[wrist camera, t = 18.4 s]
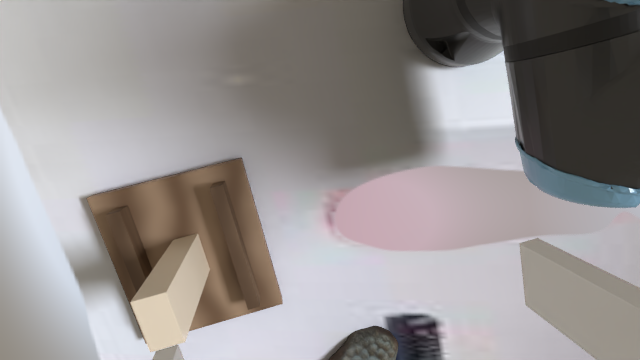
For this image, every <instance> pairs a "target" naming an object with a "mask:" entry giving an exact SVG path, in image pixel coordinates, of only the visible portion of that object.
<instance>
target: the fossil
mask: <svg viewBox="0 0 640 360" xmlns="http://www.w3.org/2000/svg"><path fill="white" fill-rule="evenodd" d="M397 351H398V342H397V340H396V338H395V337H394V336H393V335H392V333H391V332H390V331H388V330H386V329H384V328H382V327H379V326H372V327H368V328H365V329H361V330H357V331H355V332H353V333H352V334H351V335H350V336H349V337H348V339H347V341H346V342H345V343H344V344H343V346H341V347H340V348H339V349H338V351H337V352H336V353H335V354H334V355H332V357H331V358H330V359H329V360H396V355H397Z"/></svg>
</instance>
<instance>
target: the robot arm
mask: <svg viewBox="0 0 640 360" xmlns="http://www.w3.org/2000/svg"><path fill="white" fill-rule="evenodd" d="M403 11H404V17H405V22H406V26H407V29H408V31H409V34H410V36H411V38H412V39H413V41H414V43H415V44H416V45H417V47H418V48H419V49H420V50H421V51H422V52H423V53H424V54H425V55H426V56H428V57H429V58H430V59H432V60H434V61H436V62H438V63H440V64H443V65H447V66H453V67H462V66H468V65H473V64H478V63H481V62H484V61H487V60H489V59H491V58H493V57H495V56H496V55H498V54H499V53H501V52H502V51H503V50H504V55H505V64H506V70H507V76H508V82H509V89H510V96H511V103H512V110H513V117H514V124H515V131H516V138H515V143H516V146H517V148H518V150H519V151H520V155H521V160H522V164H523V169H524V173H525V175H526V177H527V178H528V179H529V181H530V182H531V183H533V184H534V185H535V186H537V187H538V188H539V189H540V190H541V191H543V192H545V193H547V194H549V195H551V196H554V197H556V198H559V199H562V200H565V201H569V202H574V203H578V204H584V205H590V206H598V207H610V208H631V207H637V206H638V205H639V204H640V0H403ZM520 253H521V263H522V273H523V283H524V293H525V303H526V306H528V307H529V308H530V309H531V310H533V311H534V312H535V313H537V314H538V315H539V316H541V317H542V318H543V319H544V320H546V321H547V322H548V323H550V324H551V325H552V326H554V327H555V328H556V329H557V330H559V331H560V332H561V333H563V334H564V335H565V336H567V337H568V338H569V339H571V340H572V341H573V342H574V343H576V344H577V345H578V346H580V347H581V348H582V349H584V350H585V351H586V352H587V353H589V354H590V355H591V356H593V357H594V358H595V359H597V360H640V288H639V287H637V286H635V285H633V284H631V283H629V282H626V281H624V280H622V279H620V278H618V277H616V276H614V275H612V274H610V273H608V272H606V271H604V270H602V269H600V268H598V267H596V266H594V265H592V264H590V263H588V262H585V261H583V260H581V259H579V258H577V257H575V256H573V255H571V254H569V253H567V252H565V251H563V250H561V249H559V248H557V247H555V246H553V245H551V244H549V243H547V242H544V241H542V240H540V239H538V238H536V239H533V240H529V241H526V242H523V243H520ZM153 360H184V358H183V356H182V353H181V350H180V348H179V345H175V346H172V347H169V348H165V349H162V350H158V351H156V353H155V355H154V357H153Z"/></svg>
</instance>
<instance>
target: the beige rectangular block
mask: <svg viewBox="0 0 640 360" xmlns="http://www.w3.org/2000/svg"><path fill="white" fill-rule="evenodd" d="M209 271H210V268H209V265H208V262H207V259H206V256H205V253H204V250H203V247H202V244H201V241H200V238H199V235H198V233H197V234H193V235H190V236H186V237H182V238H178V239H175V240H173V241H172V242H171V244H170V245H169V247H168V248H167V250H166V251H165V253H164V254H163V255H162V257H161V258H160V260H159V261H158V263H157V264H156V266H155V267H154V268H153V270H152V271H151V273H150V274H149V276H148V277H147V279H146V280H145V282H144V283H143V284H142V286H141V287H140V289H139V290H138V292H137V293H136V295H135V296H134V297H133V299H132V300H131V302H130V303H131V306H132V308H133V311H134V313H135V316H136V318H137V321H138V323H139V325H140V328H141V330H142V333H143V335H144V338H145V340H146V343H147V345H148V347H149V350H150V352H153V351H156V350H160V349H163V348H166V347H170V346H173V345H177V344H180V343H183V342H185V341H186V338H187V335H188V332H189V329H190V326H191V323H192V320H193V317H194V315H195V312H196V309H197V306H198V303H199V300H200V297H201V294H202V291H203V288H204V285H205V282H206V280H207V277H208V274H209Z"/></svg>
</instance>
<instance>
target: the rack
mask: <svg viewBox="0 0 640 360" xmlns="http://www.w3.org/2000/svg"><path fill="white" fill-rule="evenodd" d="M87 201H88V203H89V206H90V208H91V211H92V213H93V216H94V218H95V220H96V223H97V225H98V228H99V230H100V233H101V235H102V238H103V240H104V242H105V245H106V247H107V250H108V252H109V255H110V257H111V260H112V262H113V264H114V267H115V269H116V272H117V274H118V277H119V279H120V282H121V284H122V286H123V289H124V291H125V294H126V296H127V299H128V301H129V304H130V306H131V303H130V302H131V300H132V299H133V297H134V296H135V295H136V293H137V292H138V290H139V289H140V287H141V286H142V284H143V283H144V282H145V280H146V279H147V277H148V276H149V274H150V273H151V271H152V270H153V268H154V267H155V266H156V264H157V263H158V261H159V260H160V258H161V257H162V255H163V254H164V253H165V251H166V250H167V248H168V247H169V245H170V244H171V242H172V241H173V240H175V239H178V238H182V237H186V236H190V235H193V234H197V233H198V235H199V238H200V241H201V244H202V247H203V250H204V253H205V256H206V259H207V262H208V265H209V268H210V271H209V274H208V277H207V280H206V282H205V285H204V288H203V291H202V294H201V297H200V300H199V303H198V306H197V309H196V312H195V315H194V317H193V320H192V323H191V326H190V329H189V331H191V330H195V329H198V328H202V327H205V326H208V325H212V324H215V323H219V322H222V321H225V320H229V319H232V318H236V317H239V316H242V315H246V314H249V313H253V312H256V311H259V310H263V309H266V308H270V307H273V306H276V305H280V304H283V303H282V296H281V292H280V289H279V285H278V282H277V278H276V275H275V271H274V268H273V265H272V261H271V258H270V254H269V251H268V247H267V244H266V240H265V237H264V233H263V230H262V226H261V223H260V219H259V216H258V213H257V209H256V206H255V202H254V199H253V195H252V192H251V188H250V185H249V181H248V178H247V174H246V171H245V168H244V164H243V161H242V158H238V159H234V160H230V161H226V162H222V163H218V164H214V165H211V166H207V167H203V168H199V169H195V170H191V171H187V172H183V173H179V174H175V175H171V176H167V177H163V178H159V179H155V180H151V181H147V182H143V183H139V184H135V185H131V186H127V187H123V188H119V189H115V190H111V191H107V192H103V193H99V194H95V195H92V196H90V197H88V198H87ZM131 308H132V306H131ZM132 311H133V308H132ZM133 313H134V311H133ZM134 316H135V313H134ZM135 318H136V316H135ZM136 321H137V318H136ZM137 323H138V321H137ZM138 326H139V328H140V325H139V323H138ZM140 331H141V333H142V330H141V328H140ZM142 335H143V333H142ZM143 338H144V335H143ZM144 340H145V338H144ZM145 343H146V340H145ZM146 344H147V343H146Z"/></svg>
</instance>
